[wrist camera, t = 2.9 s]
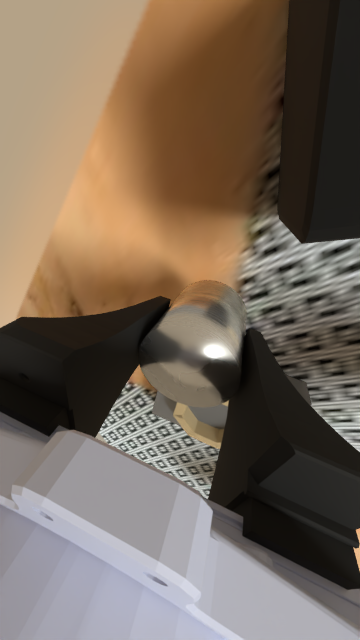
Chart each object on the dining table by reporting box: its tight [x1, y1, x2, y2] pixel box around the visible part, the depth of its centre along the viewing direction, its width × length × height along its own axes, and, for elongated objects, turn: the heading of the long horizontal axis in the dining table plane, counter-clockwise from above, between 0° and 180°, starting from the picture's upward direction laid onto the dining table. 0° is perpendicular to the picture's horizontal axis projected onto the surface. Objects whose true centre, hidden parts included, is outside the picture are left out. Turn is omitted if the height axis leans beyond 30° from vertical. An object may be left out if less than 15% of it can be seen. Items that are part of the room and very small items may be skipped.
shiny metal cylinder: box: [138, 280, 247, 407], centre depth 11 cm, size 4×4×5 cm
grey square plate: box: [152, 375, 312, 449], centre depth 22 cm, size 13×11×4 cm
